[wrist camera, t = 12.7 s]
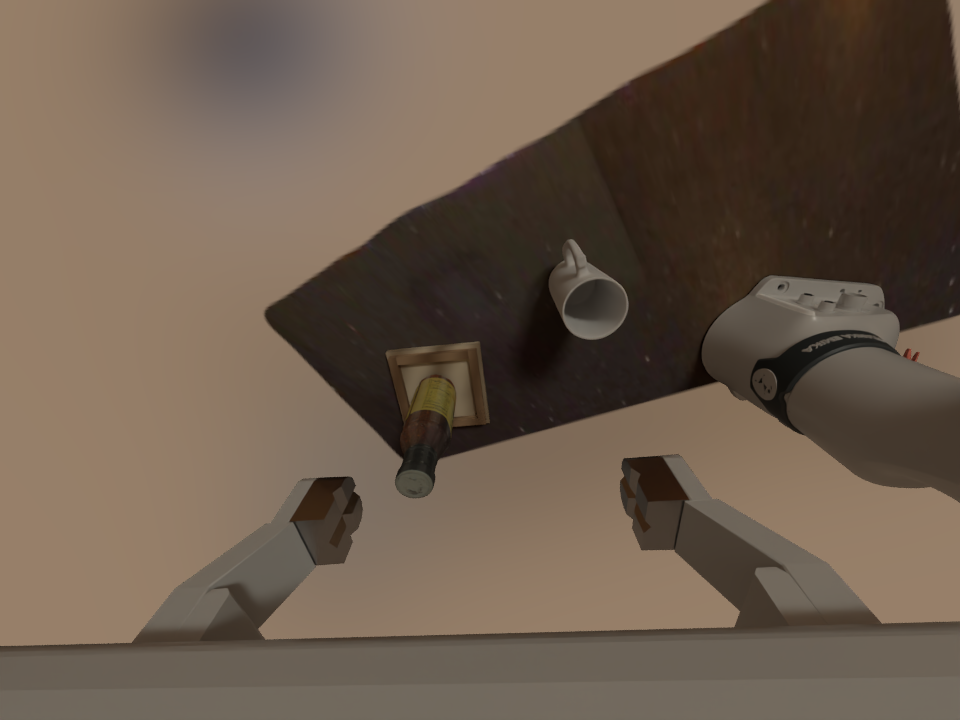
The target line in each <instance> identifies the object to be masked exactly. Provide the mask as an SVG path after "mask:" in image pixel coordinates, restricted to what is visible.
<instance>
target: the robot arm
mask: <svg viewBox="0 0 960 720" xmlns="http://www.w3.org/2000/svg"><path fill="white" fill-rule="evenodd" d="M780 284H781V286H780V287H779V288H778V286H779V285H780ZM899 329H900V328H899V321H898V318H897V317H896V315H895V314H894V313H892V312H891V311H888V310H886V309H884V295H883V292H882V289H881V288H880V287H879V286H876V285H873V284H867V283H856V282H844V281H832V280H820V279H808V278H796V277H784V276H768V277H765V278H764V279H763V280H761V281H760V282H759V283H758V284H757V285H756V286H755V288H754V289H753V290H752V291H751V292H750V293H749V295H747V296H746V297H745V298H743V299H742V300H740V301H739V302H737V303H735V304H734V305H732V306H731V307H730V308H728V309H727V310H726V311H725V312H723V313H722V314H721V315H720V316H719V317H718V318H717V319H716V321H715V322H714V323H713V324H712V326H711V327H710V329H709V331H708V332H707V334H706V337H705V339H704V342H703V346H702V361H703V365H704V367H705V369H706V371H707V372H708V373H709V374H710V376H712V377H713V378H714V379H716V380H717V381H719V382H721V383H723V384H725V385H726V386H727V387H728V388H729V390H730V392H731V393H732V394H733V395H734V396H735V397H736V398H738V399H739V400H748V401H750V402H751V403H753V404H754V405H756V406H757V407H759V408H760V409H762V410H763V411H765V412H766V413H768V414H770V415H771V416H773V417H775V418H778V420H779V422H781V423H782V424H784V425H785V426H787V427H789V428H790V429H792V430H793V431H795V432H797V433H799V434H802V435H805V436H807V437H808V438H809V439H811V440H812V441H813V442H814V443H816V444H817V445H818V446H820V447H821V448H822V449H823V450H824V451H826V452H827V453H828V454H830V455H831V456H832V457H833V458H835V459H836V460H837V461H838V462H840V463H841V464H842V465H844V466H845V467H846V468H847V469H849V470H850V471H851V472H852V473H854V474H855V475H857V476H858V477H860V478H862V479H864V480H866V481H869V482H872V483H875V484H878V485H882V486H889V487H898V488H925V487H932V488H935V489H937V490H938V491H941V492H943V493H944V494H946V495H948V496H950V497H952V498H953V499H955V500H957V501H958V502H959V503H960V378H958V377H955V376H952V375H950V374H947V373H944V372H941V371H939V370H936V369H933V368H931V367H928V366H925V365H923V364H920V363H918V362H916V361H917V358H918V356H919V352H916V354H915V355H914V356H913V358H912V359H911V349H907V350H906V351H905V353H904V355H903V357H902V356H901V355H900V354H899V353H898V352H897V351H896V350H895V346H896V344H897V341H898V336H899ZM621 469H622V471H623V473H624V477H623V478H622V480H621V481H620V492H621V499H622V503H623V506H624V509H625V511H626V514H627V515H628V516H630V517H631V518H632V519H633V526H632V529H633V531H634V533H635V536H636V538H637V541H638V543H639V545H640V548H641V550H675V552H676V553H677V554H678V555H679V556H681V557H682V558H683V559H684V560H685V561H686V562H687V563H688V564H689V565H690V566H691V567H693V569H695V570H696V571H697V572H698V573H699V574H700V575H701V576H702V577H703V578H704V579H706V580H707V581H708V582H709V583H710V584H711V585H712V586H713V587H714V588H716V590H718V591H719V592H720V593H721V594H722V595H723V596H724V597H725V598H726V599H728V601H730V602H731V603H732V604H733V605H734V606H735V607H736V608H737V609H738V610H739V611H740V614H739V616H738V619H737V622H736V625H735V627H734V628H733V627H732V628H693V629H659V630H658V629H656V630H618V631H617V630H616V631H579V632H543V633H542V632H540V633H505V634H466V635H427V636H391V637H351V638H313V639H274V640H265V639H264V637H263V636H262V634H261V633H260V632H259V630H258V628H259V627H260V626H261V625H262V624H263V623H264V622H265V621H266V620H267V619H268V618H269V617H270V615H271V614H272V613H273V612H274V611H275V610H276V609H277V608H278V607H279V606H280V605H281V604H282V603H283V602H284V601H285V599H286V598H287V597H288V596H289V595H290V594H291V593H292V592H293V591H294V590H295V589H296V588H297V587H298V585H299V584H300V583H301V582H302V581H303V580H304V579H305V578H306V577H307V576H308V575H309V574H310V572H312V570H313V569H314V568H315V567H316V566H315V565H327V564H340V563H344V562H345V560H346V557H347V555H348V552H349V550H350V547H351V544H352V539H351V536H350V535H351V534H352V533H353V532H354V531H356V530H357V529H358V527H359V524H360V521H361V518H362V510H363V509H362V501H361V499H360V496H359V495H357V494H356V493H355V492H353V490H354V488H355V486H356V485H355V483H354V480H353V478H352V477H325V478H309V479H302V480H300V481H299V482H298V483H297V484H296V486H295V487H294V489H293V491H292V492H291V493H290V495H289V496H288V498H287V499H286V501H285V502H284V504H283V505H282V507H281V509H280V510H279V511H278V513H277V514H276V516H275V517H274V519H273V520H272V522H271V523H269V524H264V525H263V526H262V527H260V528H259V529H257V530H256V531H255V532H253V533H252V534H250V535H249V536H248V537H246V538H245V539H243V540H242V541H241V542H239V543H238V544H237V545H235V546H234V547H233V548H231V549H230V550H228V551H227V552H225V553H224V554H223V555H221V556H220V557H218V558H217V559H216V560H214V561H213V562H211V563H210V564H209V565H207V566H206V567H204V568H203V569H202V570H200V571H199V572H198V573H196V574H195V575H193V576H192V577H191V578H189V579H188V580H186V581H185V582H183V583H182V584H181V585H179V586H178V587H176V588H175V589H174V590H173V592H172V593H171V594H170V595H169V597H168V598H167V599H166V601H165V602H164V603H163V604H162V605H161V607H160V608H159V609H158V610H157V612H156V613H155V614H154V615H153V617H152V618H151V619H150V620H149V622H148V623H147V624H146V625H145V627H144V628H143V629H142V630H141V632H140V633H139V634H138V635H137V637H136V638H135V639H134V641H133V642H132V643H114V644H76V645H35V646H0V720H960V622H925V623H888V624H887V623H886V624H882V623H881V622H880V621H879V620H878V619H877V617H875V615H874V614H873V613H872V612H871V611H870V610H869V609H868V608H867V606H866V605H865V604H864V603H863V602H862V601H861V600H860V599H859V597H858V596H857V595H856V594H855V593H854V592H853V591H852V590H851V588H850V587H849V586H848V585H847V584H846V583H845V582H844V581H843V580H842V578H841V577H840V576H839V575H838V574H837V573H836V572H835V571H834V569H833V568H832V567H831V566H830V565H829V564H828V563H826V562H824V561H823V560H821V559H819V558H818V557H816V556H814V555H813V554H811V553H809V552H808V551H806V550H804V549H802V548H800V547H799V546H797V545H796V544H794V543H792V542H790V541H789V540H787V539H785V538H783V537H782V536H780V535H779V534H777V533H775V532H773V531H772V530H770V529H768V528H767V527H765V526H763V525H762V524H760V523H758V522H756V521H755V520H753V519H751V518H750V517H748V516H746V515H744V514H743V513H741V512H739V511H738V510H736V509H734V508H733V507H731V506H729V505H728V504H726V503H724V502H722V501H721V500H719V499H712V498H711V497H710V495H709V494H708V493H707V491H706V490H705V488H704V487H703V486H702V484H701V483H700V481H699V480H698V479H697V477H696V476H695V474H694V473H693V472H692V470H691V469H690V467H689V466H688V465H687V463H686V462H685V460H684V459H683V458H682V457H681V456H680V455H678V454H676V455H663V456H652V457H638V458H624V459H623V461H622V468H621Z"/></svg>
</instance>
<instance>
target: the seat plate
mask: <svg viewBox="0 0 960 720" xmlns="http://www.w3.org/2000/svg"><path fill="white" fill-rule="evenodd" d="M386 356H387V360H388V364H389V368H390V372H391V375H392V379H393V383H394V387H395V391H396V394H397V398H398V402H399V406H400V410H401V413H402V417H403V421H404V422H405V419H406V416H407V413H408V411H409V408H410V405H411V402H412V399H413V397H414V394H415V391H416V389H417V387H418V385H419V383H420V382H421V380H423V379H424V378H426V377H428V376H430V375H434V374H437V375H442V376H444V377H446V378H448V379H449V380H451V382H452V383H453V385H454V387H455V390H456V405H455V412H454V420H453V427H457V426H470V425H483V424H486V423H490V418H489V410H488V402H487V395H486V387H485V379H484V371H483V364H482V356H481V348H480V342H469V343H459V344H448V345H438V346H428V347H417V348H407V349H396V350H387V352H386Z"/></svg>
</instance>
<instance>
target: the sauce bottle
mask: <svg viewBox="0 0 960 720" xmlns="http://www.w3.org/2000/svg"><path fill="white" fill-rule="evenodd" d="M455 405H456V390H455V387H454V385H453V383H452V382H451V380H449V379H448V378H446V377H444V376H442V375H437V374H434V375H430V376H428V377H426V378H424V379H423V380H421V382H420V383H419V385H418V387H417V389H416V391H415V394H414V397H413V399H412V402H411V405H410V408H409V411H408V413H407V416H406V419H405V422H404V425H403V430H402V433H401V436H400V444H401V450H402V452H403V454H404V459H403V463H402V466H401V467H400V469H399V470H398V473H397V475H396V479H395V485H396V488H397V490H398V491H399V492H400V493H401V494H402V495H404V496H406V497H409V498H421V497H425V496H427V495H428V494H429V493H430V492H431V491H432V489H433V486H434V482H435V474H434V472H435V467H436V465H437V461H438V460H439V459H440V457H441V456H442V455H443V454H444V452H445V451H446V450H447V449H448V447H449V445H450V441H451V434H452V427H453V420H454V412H455Z"/></svg>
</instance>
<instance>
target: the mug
mask: <svg viewBox="0 0 960 720" xmlns="http://www.w3.org/2000/svg"><path fill="white" fill-rule="evenodd" d="M562 253H563V257H564V261H563V262H561V263H559V264H558V265H557V266H556V267H555V268H554V269H553V271H552V273H551V275H550V278H549V290H550V293H551V296H552V298H553V300H554V302H555V304H556V307H557V309H558V311H559V313H560V315H561V318H562V320H563V322H564V323H565V325H566V327H567V328H568V330H569V331H570V332H571V333H572V334H574V335H575V336H577V337H580V338H583V339H588V340H595V339H600V338H603V337H606V336H608V335H610V334H611V333H613V332H614V331H615V330H616V329H617V328H618V327H619V326H620V325H621V324H622V322H623V321H624V319H625V317H626V314H627V311H628V298H627V295H626V292H625V290H624V289H623V287H622V286H621V285H620V284H619V283H617V282H616V281H614V280H613V279H612V278H610V277H609V276H607V275H606V274H604V273H603V272H601V271H600V270H598V269H597V268H595V267H594V266H592V265H591V264H589V263H588V262H587V261H586V256H585V255H584V254H583V253H582V251H581V249H580V248H579V246H578V245H577V243H576V242H575V241H574V240H572V239H570V240H567V241H566V242H565V244H564V246H563V248H562Z"/></svg>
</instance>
